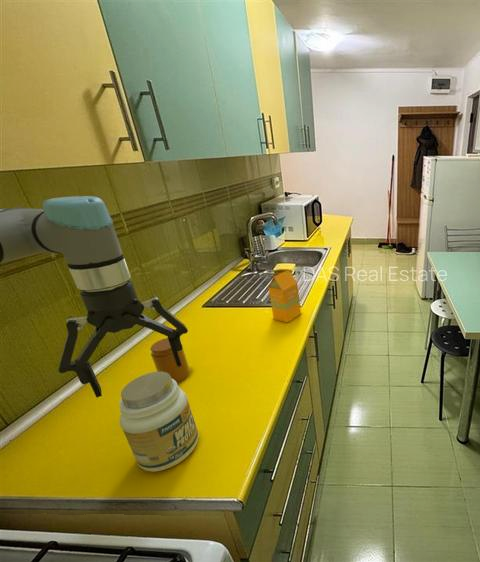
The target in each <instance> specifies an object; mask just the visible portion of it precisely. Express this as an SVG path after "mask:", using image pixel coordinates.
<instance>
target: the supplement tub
mask: <svg viewBox="0 0 480 562" xmlns="http://www.w3.org/2000/svg"><path fill="white" fill-rule="evenodd" d="M171 380H172V382H173V385H174V386H173V389H172V391H171V392H170V393H169V394H168V395H167V396H166V397H165V398H164V399H162V400H161V401H159V402H157V403H155V404H153V405H151V406H148V407H144V408H139V409H131V408H128V407H126V406H125V405H124V403H123V401H122V398H121V399H120V401H119V403H118V405H119V406H118V407H119V411H120V416H119V425H120V429H122V432H123V434H124V436H125V439H126V440H127V443H128V445H129V447H130V449H131V452H132V454H133V456H134V458H135V461H136V463H137V465H138V467H140V468H141V469H142V470H144V471H147V472H152V473H153V472H154V473H155V472H161V471H164V470H168V469H170V468H173V467H175V466H176V465H178V464H180V463H181V462H183V461H184V460H185V459H186V458H187V457H189V456H190V454H191V453H192V452H193V451H194V450H195V449H196V447H197V445H198V441H199V431H198V427H197V425H196V422H195V419H194V415H193V411H192V409H191V406H190V402H189V400H188V399H189V398H188V395H187V394H186V392H185V391H184V390H183V389H181V388H180V386H179V385H178V383H177V382H176V381H175V380H174V379H171Z"/></svg>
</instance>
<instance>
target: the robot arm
mask: <svg viewBox="0 0 480 562" xmlns="http://www.w3.org/2000/svg"><path fill="white" fill-rule="evenodd" d="M42 207H43V208H27V207H20V206H19V207H18V206H17V207H12V208H0V265H1V264H5V263H9V262H13V261H16V260H20V259H24V258H28V257H32V256H35V255H41V254H62V255H63V258H64V260H65V262H66V265H67V267H68V270H69V272H70V275H71V277H72V279H73V281H74V284H75V286H76V288H77V289H78V290H80V291H79V296H80V298H81V301H82V303H83V305H84V307H85V310H86V312H87V314H86V315H85V316H78V317H76V316H73V315H71V316H68V317H67V318H66V323H65V324H66V330H67V334H66V338H65V342H64V345H63V349H62V353H61V356H60V359H59V363H58V364H59V365H58V373H60V374H65V373H67V372H75V374H76V376H77V378H78V380H79V382H80V384H81V385H87V384H89V385H90V386H91V387H90V388H91V389H92V391H93V393H94V395H95V397H96V399H98V398H100V397H102V395H103V394H102V387H101V384H100V383H99V381H98V378H97V376H96V374H95V372H94V369H93V368H92V365H91V362H90V361H89V360H90V358H91V357H92V355H93V354H94V352H95V350H97V347H98V346H99V344H100V343H101V341H102V340H103V339H104V338H105V336H106V335H107V333H112V334H115V333H119V332H120V331H123V330H129V329H130V330H131V329H133V328H134V326H135V327H136V325H138V326H140V327H143V328H147V329H149V330H151V331H154V332H156V333H158V334H161V335H163V336H165V337H167V338H168V340H169V343H170V346H171V350H172V353H173V356H174V359H175V362H176V364H177V366H178V367H179V366H182V365H181V362H180V359H179V355H178V351H180V350H182V348H183V349H184V346H183V344H182V341H181V336H182V335H185V334H187V333H188V332H189V330H188V328H187V326H186V325H185V324H184V323H183V322H182V321H181V320H180V319H178V318H177V317H176V316H175V315H174V314H173V313H171V312H170V311H169V310H168V309H167V308H166V307H164V306H163V305H162V304H161V301H160V300H159V298H158V297H157V296H155V295H153V296H151V297H150V299H147V300H144V301H141V300H139V297H138V293H137V291H136V288H135V286H134V283H133V281H132V280H130V279H131V274H130V271H129V268H128V266H127V262H126V259H125V257H124V254H123V251H122V248H121V244H120V242H119V239H118V235H117V232H116V230H115V225H114V221H113V220H114V219H113V218H111V215H110V213H109V210H108V208H107V206H106V203H105V202H104V200H103V199H101V198H99V197H97V196H92V195H81V196H79V195H75V196H74V195H73V196H62V197H54V198H49V199H48V198H47V199H45V200H44V201H43V202H42ZM145 309H149V310H150V311H156V312H157V314H158V315H159V316H160V317H162V318H163V319H164V320H165V321H167V322H168V323H169V324H171V326H173V327H174V328H175V329H174V328H172V327H170V326H168V325H165V324H163V323H161V322H159V321H157V320H154V319H152V318H150V317H148V316H147V315H144V314H143V313H144V311H145ZM85 324H89V325H91V326H93V327H95V328H94V329H93V332H92V334H91V335H90V337H89V338H88V340H87V342H86V343H85V344H84V345H83V347H82V349H81V351H80V352H79V354H78V356H77V357H76V358H75V359H74V360H72V358H73V354H74V350H75V347H76V344H77V340H78V337H79V331H82V330H83V329H84V328H85V327H84V326H85ZM182 346H183V347H182Z"/></svg>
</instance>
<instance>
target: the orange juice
mask: <svg viewBox="0 0 480 562" xmlns="http://www.w3.org/2000/svg"><path fill="white" fill-rule="evenodd" d="M298 286H299V285H298V282H297V280H296V279H295V277H294V276H293V275H292V273H291V271H290V270H289V268H288V269H286V270H284V271H282V272H280V273H277V274H276V275H274V276H273V277H272V279H271V281H270V284H269V286H268V293H269V297H270V298H269V299H270V305H271V306H270V307H271V311H272V318H273V320H276V321H280V322H283V323H285V324H287V323H290V322H291V321H292V320H294V319H295V318H297V317H299V316H300V315H301V314H302V310H301V303H300V294H299V287H298Z"/></svg>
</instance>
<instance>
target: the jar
mask: <svg viewBox="0 0 480 562" xmlns="http://www.w3.org/2000/svg"><path fill="white" fill-rule="evenodd" d="M182 347H183V348H182V350H180V351H178V355H179V359H180V362H181V365H182V366H179V367H178V366H177V364H176V362H175V359H174V356H173V353H172V350H171V346H170V343H169V340H168V337H165V338H161V339H158V340H157V341H155V342H154V343H152V345H151V346H150V348H149V349H150V352H151V353H150V356H151V359H152V361H153V364H154V367H155V370H156V372H166V373H168V374H169V375H170V377H171V379H174V380H175V381H176V382H177V384H179V383H181V382H183V381H184V380H185V379H187V378H188V377H190V375H191V369H190V365H189V362H188V359H187V355H186V352H185V349H184V346H183V345H182Z"/></svg>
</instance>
